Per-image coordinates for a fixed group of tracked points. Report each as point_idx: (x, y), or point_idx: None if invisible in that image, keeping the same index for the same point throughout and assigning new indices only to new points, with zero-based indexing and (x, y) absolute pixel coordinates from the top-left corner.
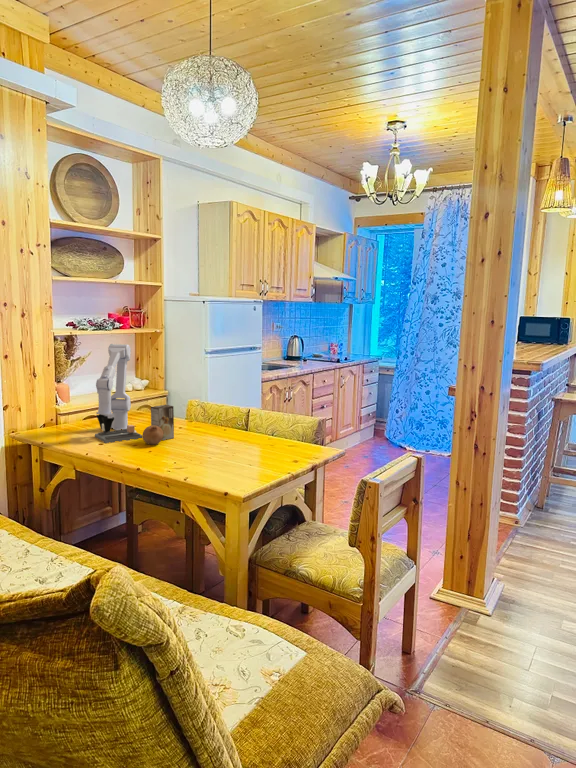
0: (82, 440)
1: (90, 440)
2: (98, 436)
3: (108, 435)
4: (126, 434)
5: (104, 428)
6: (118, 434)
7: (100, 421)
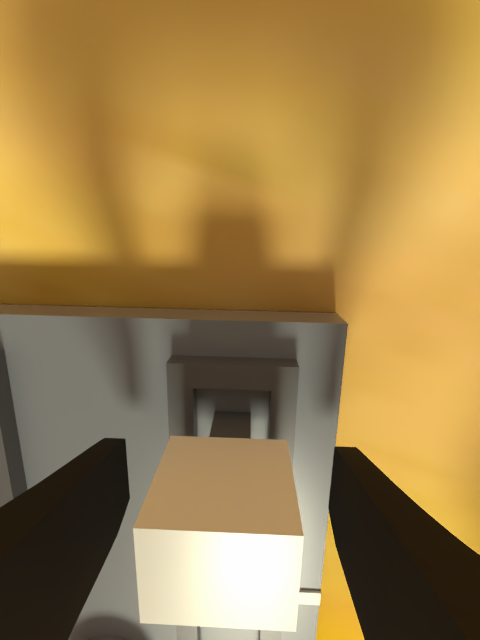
0: (218, 77)
1: (159, 186)
2: (180, 317)
3: (135, 437)
4: None
5: (160, 474)
6: (130, 546)
7: (408, 585)
